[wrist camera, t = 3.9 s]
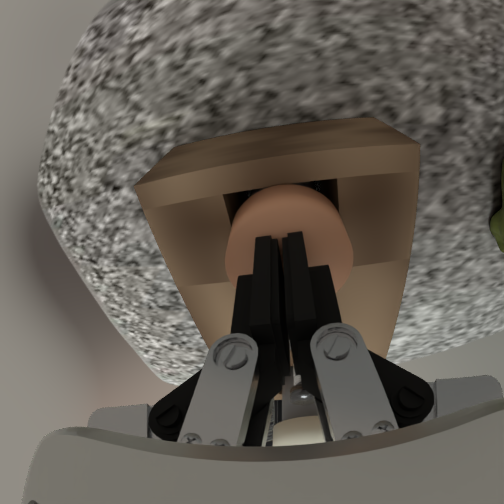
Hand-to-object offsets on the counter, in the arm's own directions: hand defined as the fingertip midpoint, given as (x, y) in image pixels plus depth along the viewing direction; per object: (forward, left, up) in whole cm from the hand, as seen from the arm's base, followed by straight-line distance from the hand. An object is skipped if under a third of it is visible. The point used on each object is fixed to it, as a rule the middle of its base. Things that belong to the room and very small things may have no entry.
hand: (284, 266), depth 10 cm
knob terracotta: (0, 0, -7) cm, 8 cm away
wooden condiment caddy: (0, +7, -8) cm, 10 cm away
